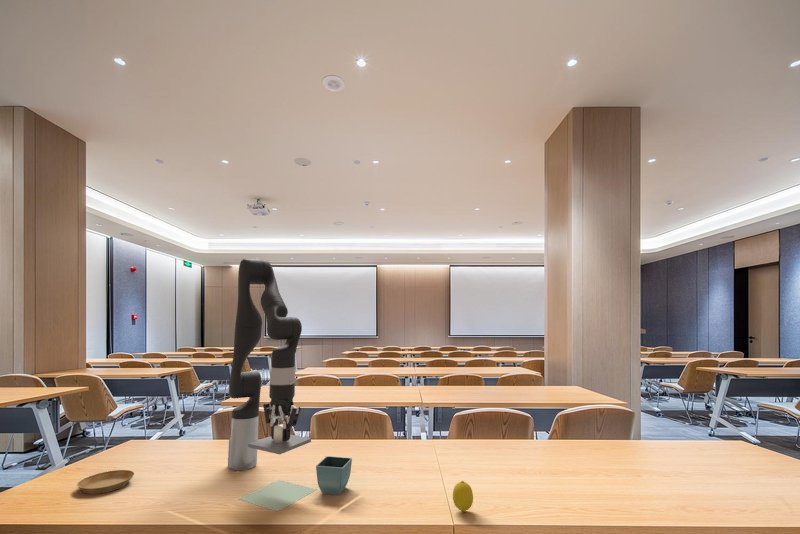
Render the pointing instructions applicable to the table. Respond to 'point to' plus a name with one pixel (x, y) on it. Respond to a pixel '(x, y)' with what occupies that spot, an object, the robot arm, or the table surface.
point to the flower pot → (333, 474)
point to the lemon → (462, 496)
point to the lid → (279, 442)
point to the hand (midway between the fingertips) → (280, 439)
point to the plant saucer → (105, 481)
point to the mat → (277, 495)
